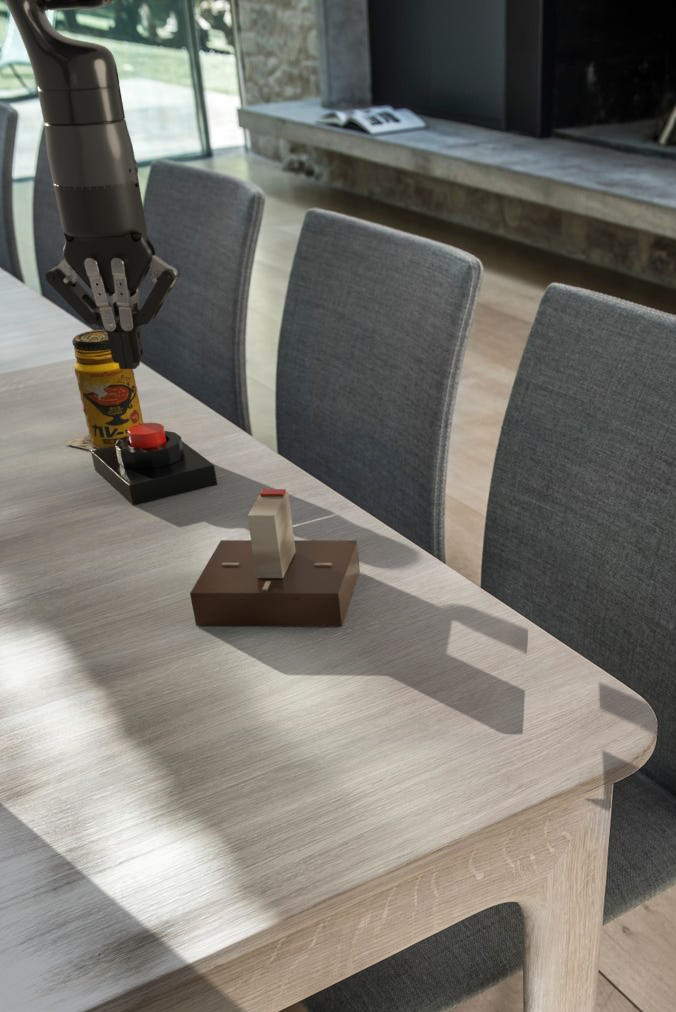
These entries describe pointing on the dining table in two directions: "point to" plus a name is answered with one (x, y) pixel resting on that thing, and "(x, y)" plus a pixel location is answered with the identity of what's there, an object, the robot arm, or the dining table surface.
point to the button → (147, 435)
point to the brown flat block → (277, 586)
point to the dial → (272, 533)
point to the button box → (153, 469)
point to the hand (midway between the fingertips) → (130, 366)
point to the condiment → (104, 392)
